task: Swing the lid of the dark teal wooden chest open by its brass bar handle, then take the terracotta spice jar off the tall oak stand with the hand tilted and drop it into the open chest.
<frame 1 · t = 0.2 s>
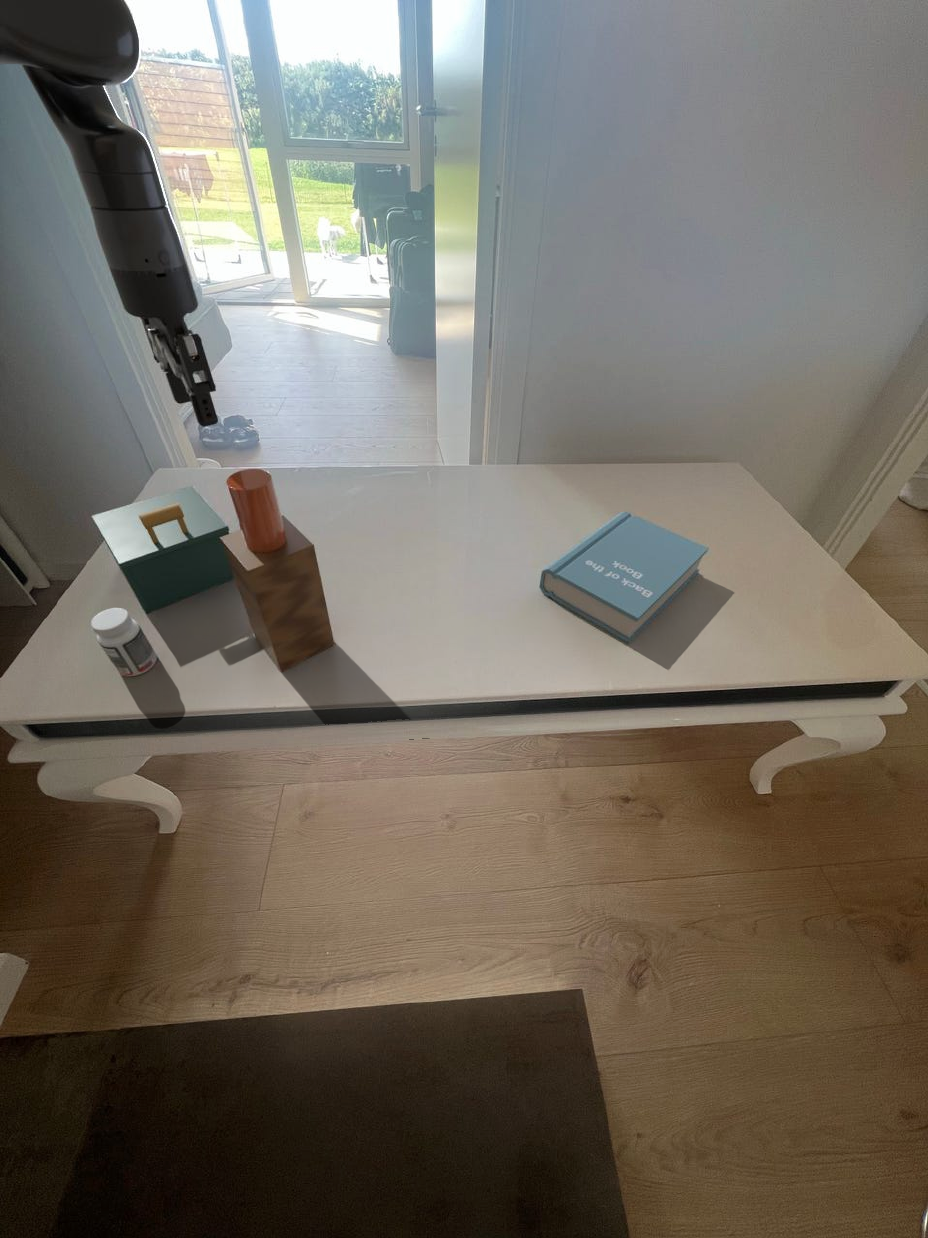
hand: (196, 412, 66), 25 cm above the table, tool pointing down, fingers open, 8 cm apart
pill bottle: (138, 664, 69), on the table
stand: (294, 641, 73), on the table
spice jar: (266, 541, 61), point 17 cm above the table, touching stand
chest: (181, 571, 83), on the table
book: (620, 582, 84), on the table
lid: (154, 510, 75), point 11 cm above the table, hinge at 0.0°
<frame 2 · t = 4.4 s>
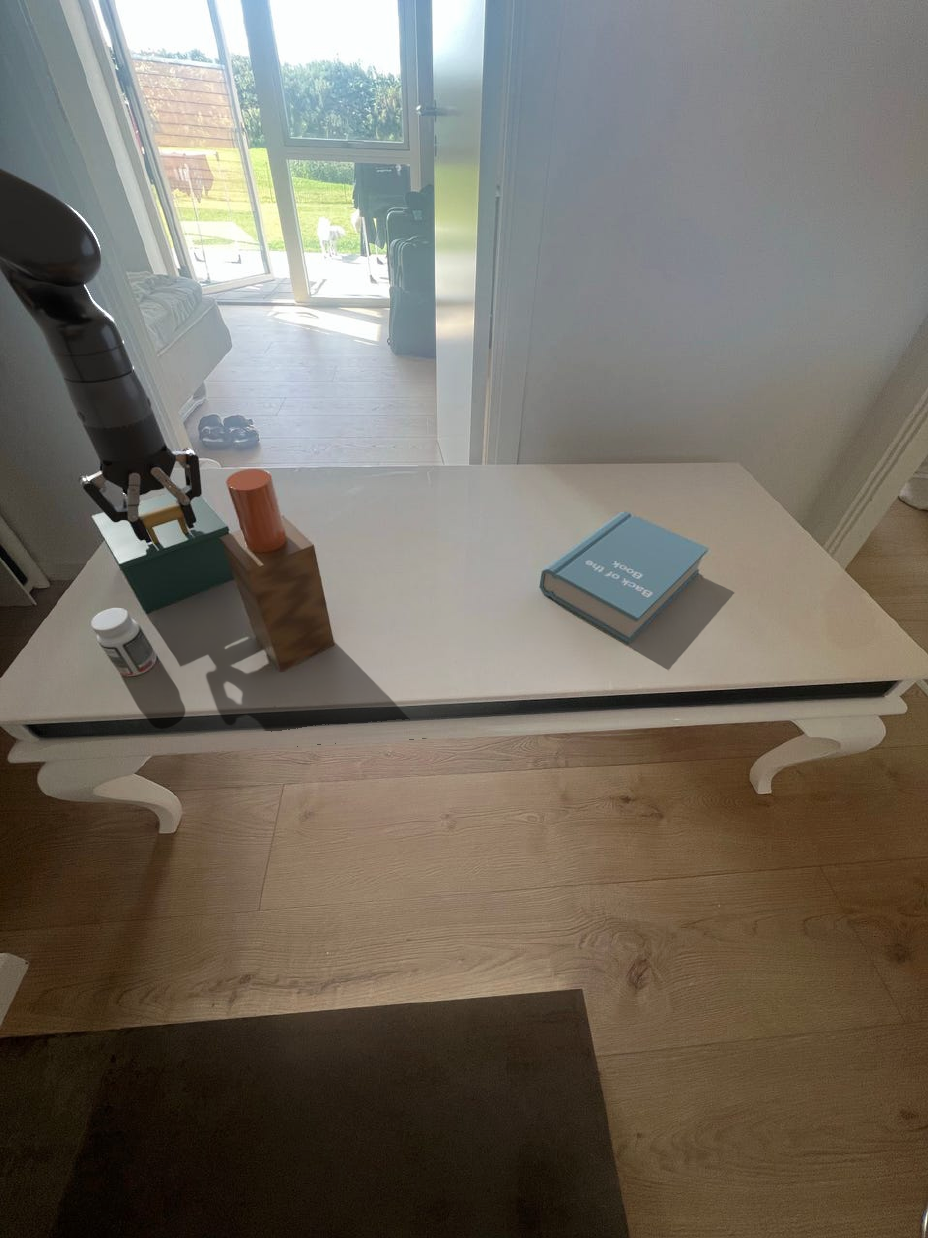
hand: (168, 532, 73), 10 cm above the table, tool pointing down, fingers closed on lid, 5 cm apart
lid: (154, 510, 75), point 11 cm above the table, hinge at -0.1°, touching gripper
everything else where it was.
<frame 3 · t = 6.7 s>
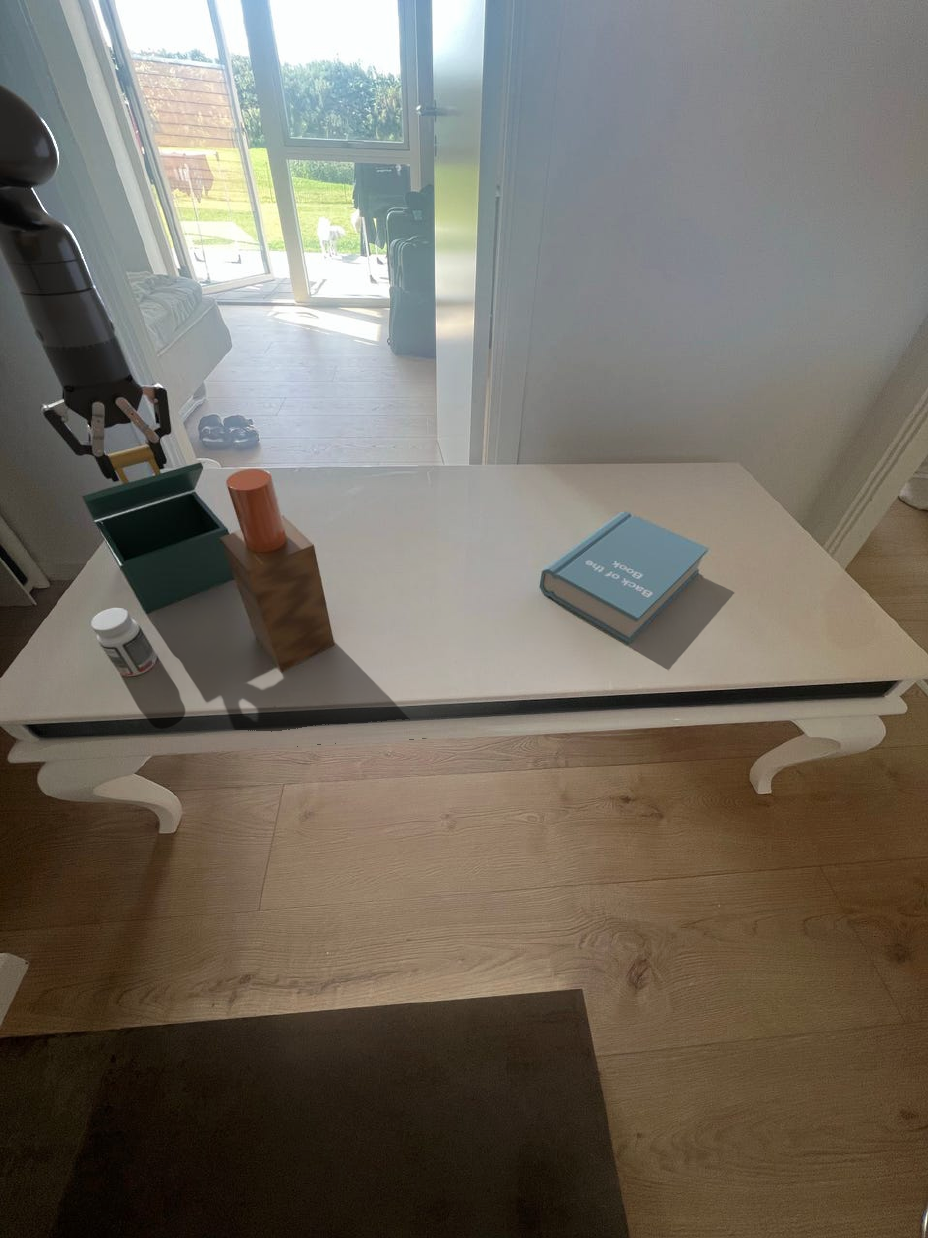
hand: (137, 472, 70), 17 cm above the table, tool pointing down, fingers closed on lid, 5 cm apart
lid: (137, 477, 73), point 15 cm above the table, hinge at 37.4°, touching gripper
everything else where it was.
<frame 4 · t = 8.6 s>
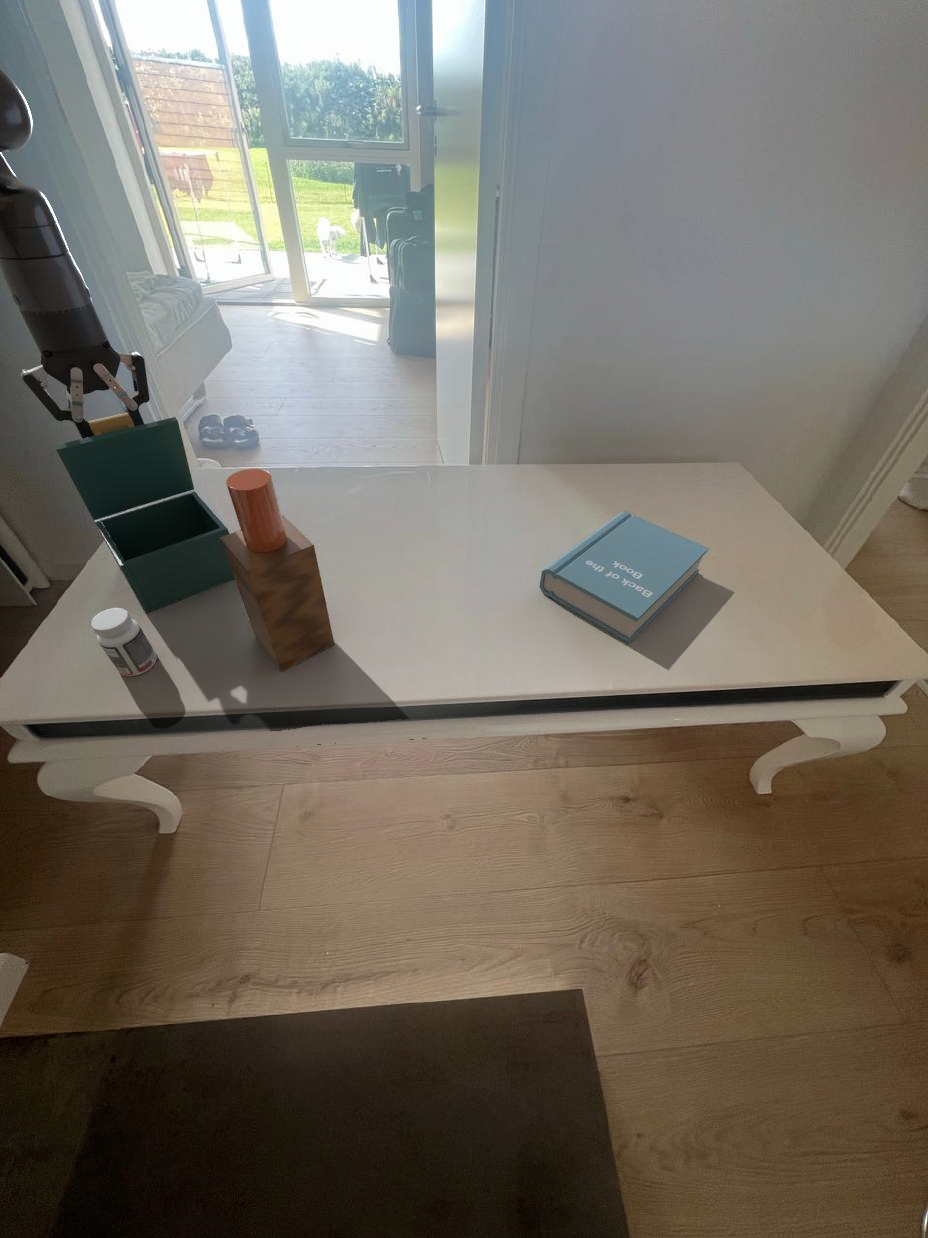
hand: (117, 440, 72), 20 cm above the table, tool pointing down, fingers closed on lid, 5 cm apart
lid: (126, 458, 74), point 17 cm above the table, hinge at 66.4°, touching gripper
everything else where it was.
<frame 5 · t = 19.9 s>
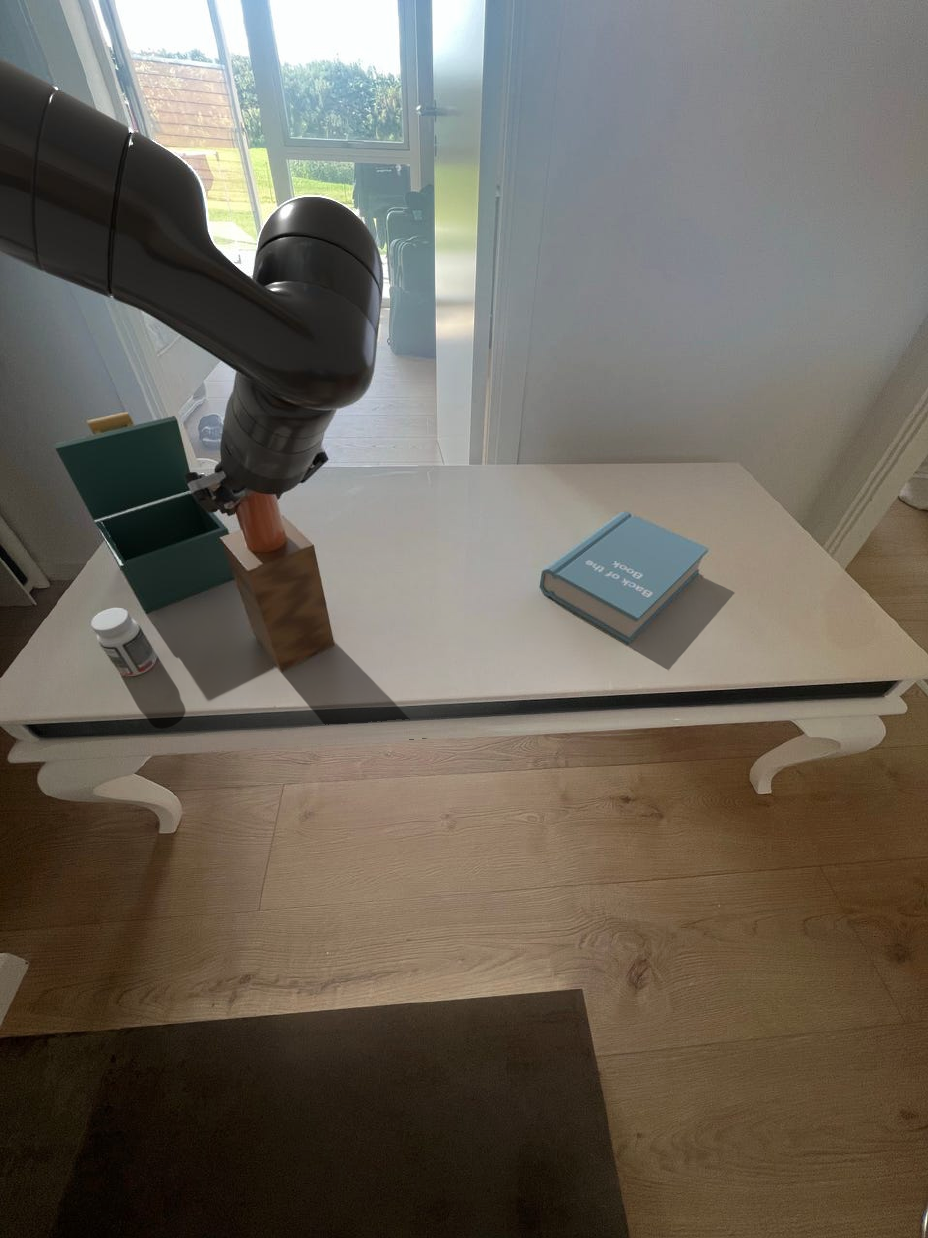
hand: (249, 499, 59), 22 cm above the table, tool tilted 45°, fingers closed on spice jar, 4 cm apart
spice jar: (266, 541, 61), point 17 cm above the table, touching gripper, stand
lid: (126, 458, 74), point 17 cm above the table, hinge at 67.2°
everything else where it was.
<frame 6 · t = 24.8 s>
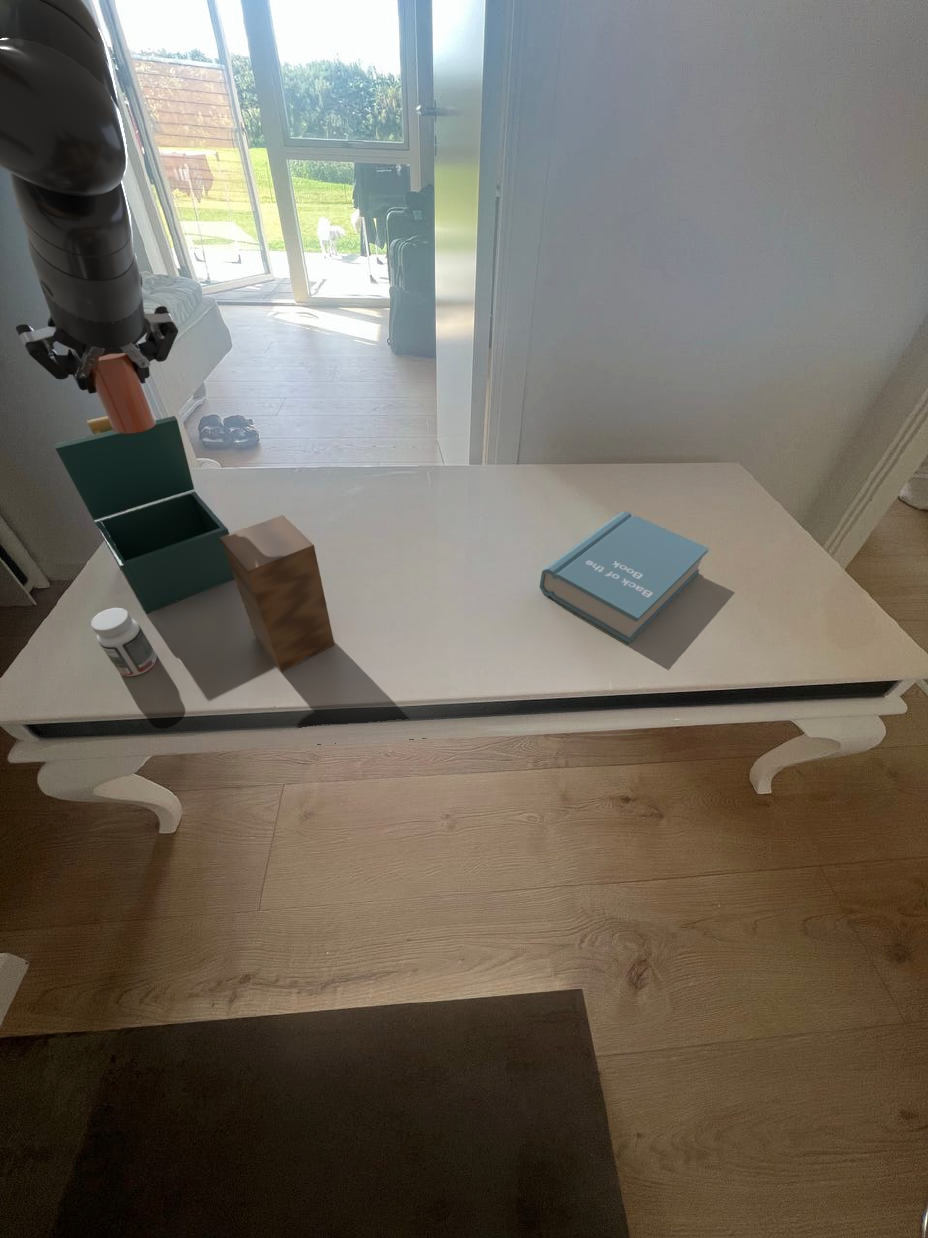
hand: (113, 380, 60), 30 cm above the table, tool tilted 45°, fingers closed on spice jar, 4 cm apart
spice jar: (134, 425, 62), point 26 cm above the table, touching gripper
everything else where it was.
when the fingers open (11 cm above the table, at t = 30.0 s): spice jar drops 6 cm, resting on chest.
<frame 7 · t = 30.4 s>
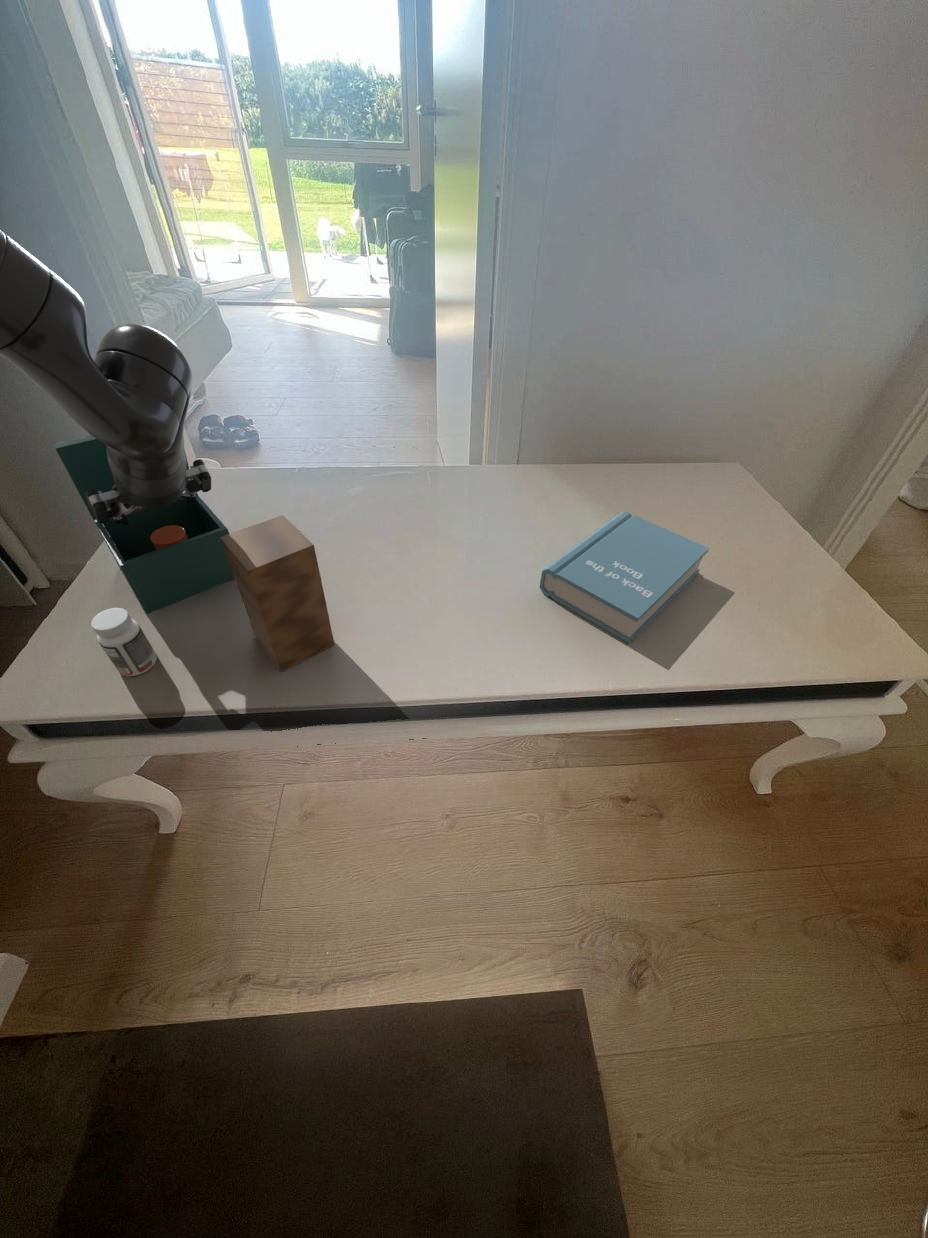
hand: (154, 508, 73), 12 cm above the table, tool tilted 45°, fingers open, 8 cm apart
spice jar: (186, 577, 81), point 1 cm above the table, touching chest
everything else where it was.
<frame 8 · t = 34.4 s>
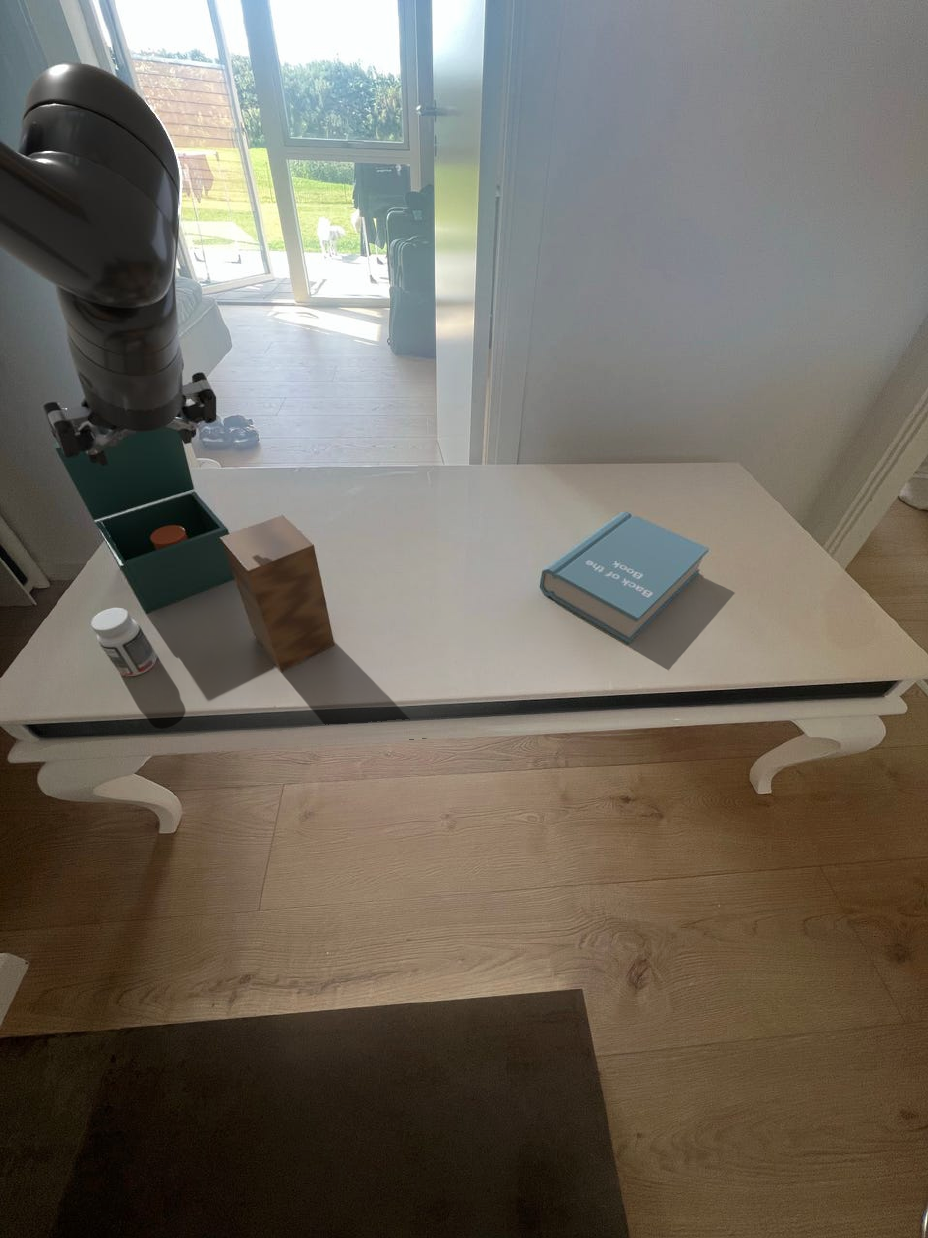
hand: (142, 446, 56), 27 cm above the table, tool tilted 45°, fingers open, 8 cm apart
nothing on the table moved.
at the end: lid at +67° (first picture: +0°); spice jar inside the target area in the chest (3.1 cm from its centre), point 0.8 cm above the chest's base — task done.
